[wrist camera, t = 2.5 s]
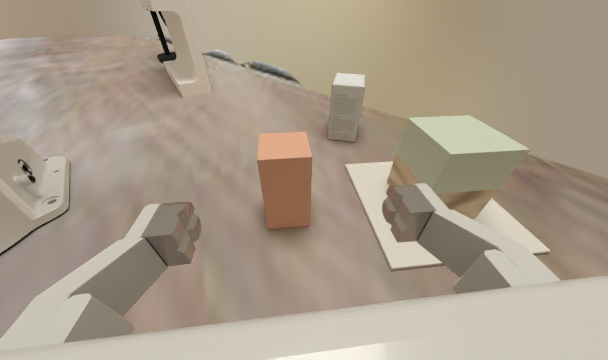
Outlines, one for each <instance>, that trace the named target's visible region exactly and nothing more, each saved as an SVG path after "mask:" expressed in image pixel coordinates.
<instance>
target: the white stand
mask: <svg viewBox="0 0 608 360" xmlns="http://www.w3.org/2000/svg"><path fill="white" fill-rule="evenodd" d="M140 1H142V6H143V8H145V9H148V10H151V11H161V12H162V13H163V16H164V19H165V22H166V25H167V28H168V31H169V34H170V37H171V40H172V43H173V46H174V49H175V53H176V56H177V57H176V59H175V60H173V61H163V63H164V65H165V68H166V71H167V73H168V75H169V76H170V78H171V79H172V81H173V82H174V84H175V85H176V87H177V89H178V90H179V92H180V93H181V95H182V96H183V97H189V96H195V95H201V94H207V93H212V90H211V86H210V83H209V79H208V75H207V71H206V67H205V63H204V59H203V55H202V52H201V48H200V44H199V41H198V36H197V32H196V28H195V25H194V21H193V17H192V13H191V9H190V5H189V2H188V0H140Z"/></svg>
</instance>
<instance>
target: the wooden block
mask: <svg viewBox="0 0 608 360" xmlns="http://www.w3.org/2000/svg"><path fill="white" fill-rule="evenodd" d="M387 183H388V185H389V186H397V185H409V184H419V183H420V182H419V181H418V179H417V178H416V177H415V176H414V174H413V173H412V172H411V171H410V170H409V168H408V167H407V166H406V165H405V164H404V162H403V161H402V160H401V159H400V157H399V156H398V155H397V154H396V156H395V159H394V162H393V165H392V168H391V171H390V174H389V177H388V180H387ZM497 191H498V189H493V190H480V191H467V192H454V193H441V194H436V195H437V196H438V197H439V198H440V199H441V201H442V202H443V203H444V204H445V205H446V206H447V207H448V209H449V210H455V211H457V212H459V213H461V214H463V215H465V216H467V217H469V218H471V219H475V218H476V217H477V216H478V215H479V213H480V212H481V211H482V209H483V208H484V207H485V206H486V204H487V203H488V202H489V201H490V199H491V198H492V197H493V196H494V194H495V193H496V192H497Z"/></svg>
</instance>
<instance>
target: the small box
mask: <svg viewBox="0 0 608 360" xmlns="http://www.w3.org/2000/svg"><path fill="white" fill-rule="evenodd" d="M364 91H365V75H358V74H344V73H337V74H336V77H335V80H334V82H333V85H332V93H331V104H330V116H329V129H328V139H332V140H341V141H349V142H355V139H356V134H357V128H358V123H359V118H360V113H361V107H362V102H363V97H364Z"/></svg>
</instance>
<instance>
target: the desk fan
mask: <svg viewBox="0 0 608 360" xmlns="http://www.w3.org/2000/svg"><path fill="white" fill-rule="evenodd" d="M146 10H148V9H146ZM150 12H151V15H152V18H153V21H154V24H155V26H156V29H157V32H158V35H159V38H160V41H161V43H162V46H163V49H164V52H165V53H162V54H159V55H158V59H159V60H160V61H161V62H163V61H173V60H175V59H176V57H177V56H176V53H175V52H169V49H168V46H167V43H166V41H165V38H164V35H163V32H162V29H161V26H160V23H159V20H158V17H157V14H156V11H151V10H150ZM158 12H159V14H160V16H161V18H162V20H163V22H164V23H165V20H164V18H163V16H162V13H161V11H158ZM165 25H166V23H165ZM166 26H167V25H166Z"/></svg>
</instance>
